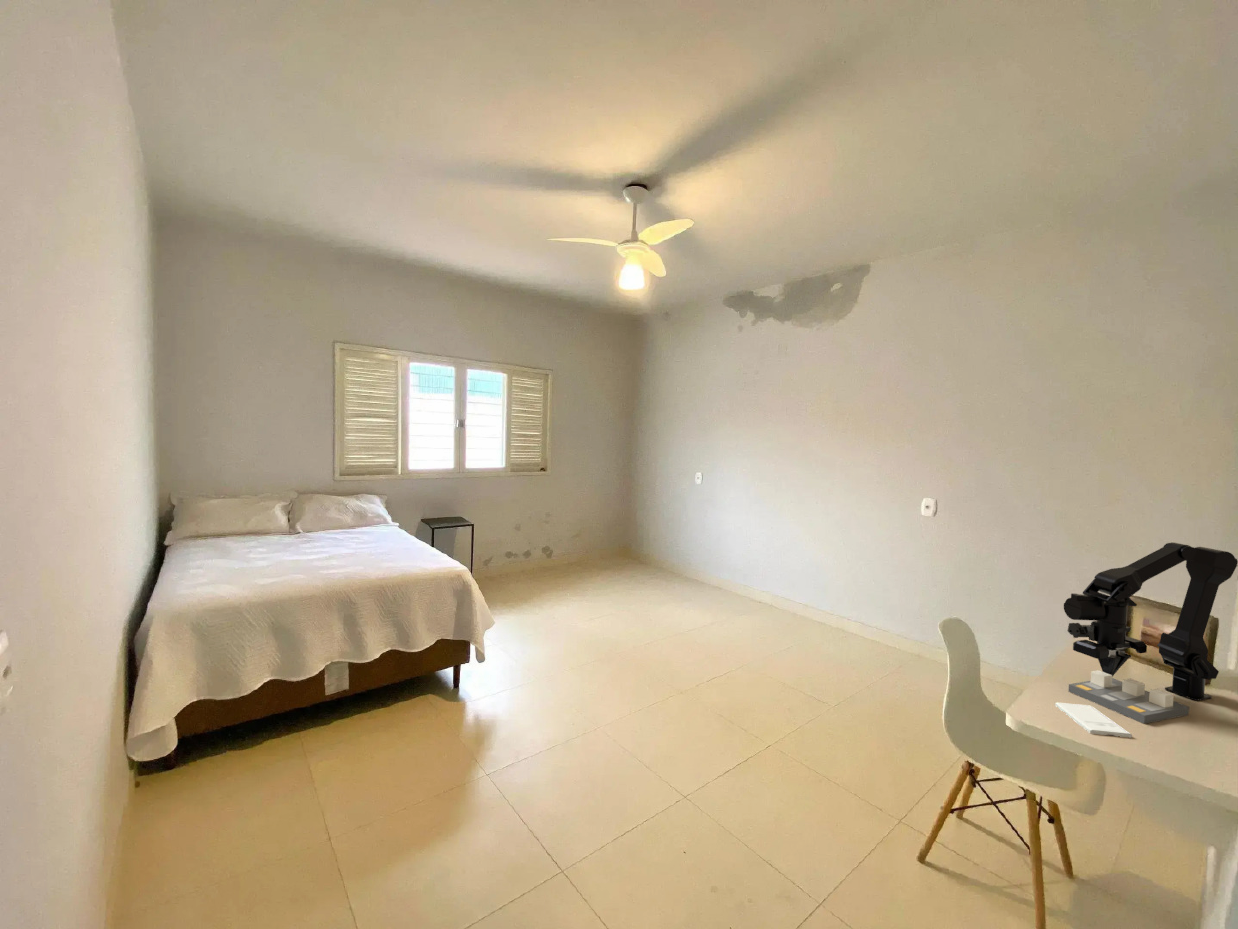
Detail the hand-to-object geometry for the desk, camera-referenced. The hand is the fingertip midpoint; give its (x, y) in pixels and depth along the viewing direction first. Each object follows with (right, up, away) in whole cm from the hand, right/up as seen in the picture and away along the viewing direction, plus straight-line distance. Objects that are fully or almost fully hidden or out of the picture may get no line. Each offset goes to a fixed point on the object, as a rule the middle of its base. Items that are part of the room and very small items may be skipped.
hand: (1107, 677), depth 136 cm
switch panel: (-1, -4, -6) cm, 7 cm away
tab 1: (-3, -1, -1) cm, 3 cm away
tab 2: (+1, -2, -5) cm, 6 cm away
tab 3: (+3, -2, -11) cm, 11 cm away
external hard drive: (-18, -5, -15) cm, 24 cm away
